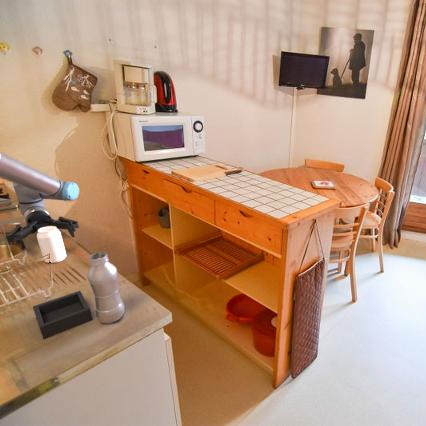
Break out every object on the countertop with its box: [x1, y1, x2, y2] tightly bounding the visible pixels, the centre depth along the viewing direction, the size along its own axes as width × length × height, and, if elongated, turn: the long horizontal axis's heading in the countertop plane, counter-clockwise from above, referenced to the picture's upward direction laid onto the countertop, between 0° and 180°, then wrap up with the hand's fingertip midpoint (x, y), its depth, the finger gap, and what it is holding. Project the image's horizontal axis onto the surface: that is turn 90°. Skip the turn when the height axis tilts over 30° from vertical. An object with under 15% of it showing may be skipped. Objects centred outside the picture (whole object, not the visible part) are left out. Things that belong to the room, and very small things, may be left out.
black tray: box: [32, 290, 94, 340], centre depth 85 cm, size 10×10×4 cm
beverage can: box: [36, 226, 67, 264], centre depth 108 cm, size 6×6×12 cm
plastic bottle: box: [86, 251, 126, 324], centre depth 84 cm, size 6×7×20 cm
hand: (49, 239), depth 111 cm, fingers open, 13 cm apart
